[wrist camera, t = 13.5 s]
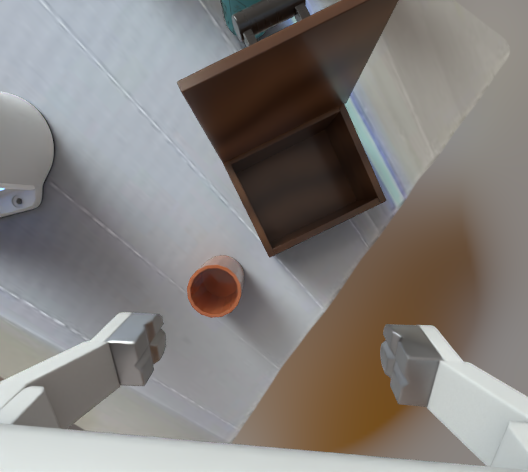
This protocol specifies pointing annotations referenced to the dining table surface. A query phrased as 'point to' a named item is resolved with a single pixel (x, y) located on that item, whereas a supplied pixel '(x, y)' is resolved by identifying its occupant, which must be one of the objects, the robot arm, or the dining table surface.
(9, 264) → the dining table surface
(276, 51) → the lid
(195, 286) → the cup
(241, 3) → the beverage bottle
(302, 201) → the box
